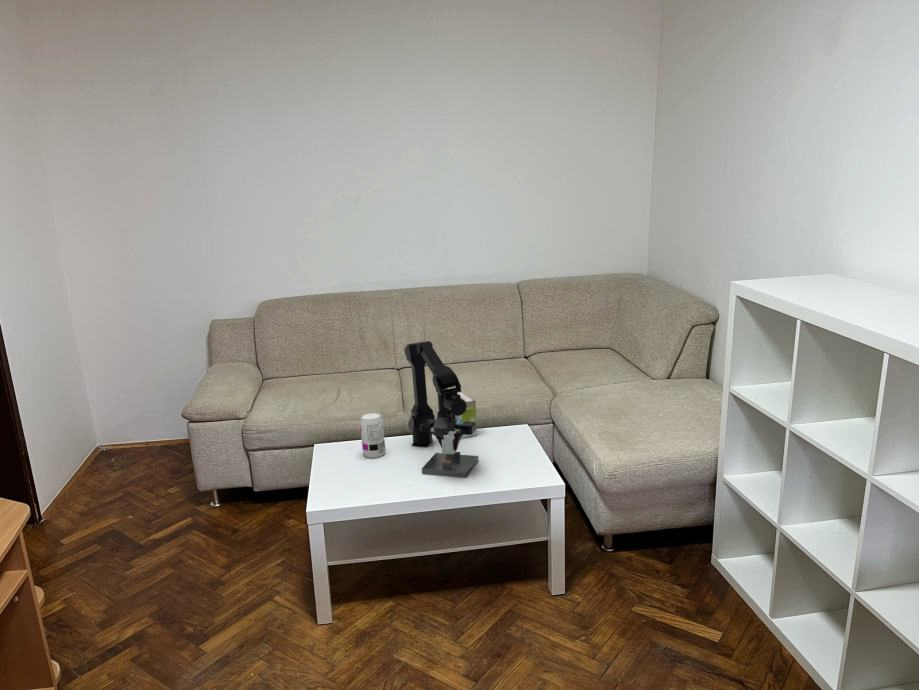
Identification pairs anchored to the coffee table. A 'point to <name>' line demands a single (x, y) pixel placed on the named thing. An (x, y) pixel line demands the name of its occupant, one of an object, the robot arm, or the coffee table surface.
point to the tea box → (467, 414)
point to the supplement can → (372, 435)
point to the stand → (450, 465)
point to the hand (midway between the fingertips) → (449, 449)
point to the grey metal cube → (448, 445)
